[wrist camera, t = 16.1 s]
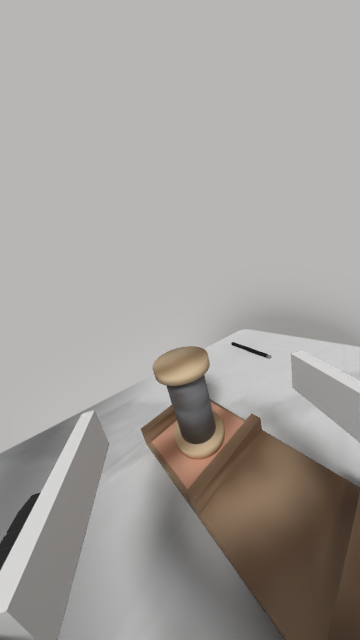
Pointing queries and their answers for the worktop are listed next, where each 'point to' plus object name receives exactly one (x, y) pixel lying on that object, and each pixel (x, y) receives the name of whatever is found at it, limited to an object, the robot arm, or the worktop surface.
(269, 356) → the black pen
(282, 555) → the slot cradle
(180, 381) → the cord spool
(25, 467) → the worktop surface
